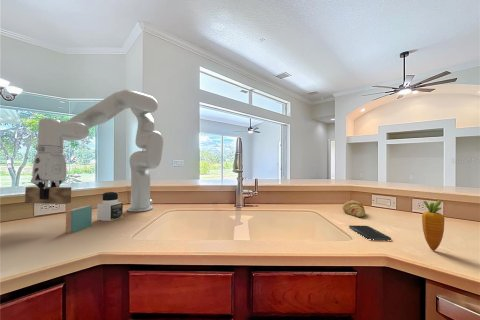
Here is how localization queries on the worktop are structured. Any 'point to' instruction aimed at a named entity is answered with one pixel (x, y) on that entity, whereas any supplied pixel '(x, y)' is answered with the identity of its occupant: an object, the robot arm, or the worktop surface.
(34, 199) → the brown wooden block
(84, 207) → the tile
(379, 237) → the phone
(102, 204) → the medicine bottle
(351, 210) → the croissant
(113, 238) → the worktop surface
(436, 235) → the carrot
